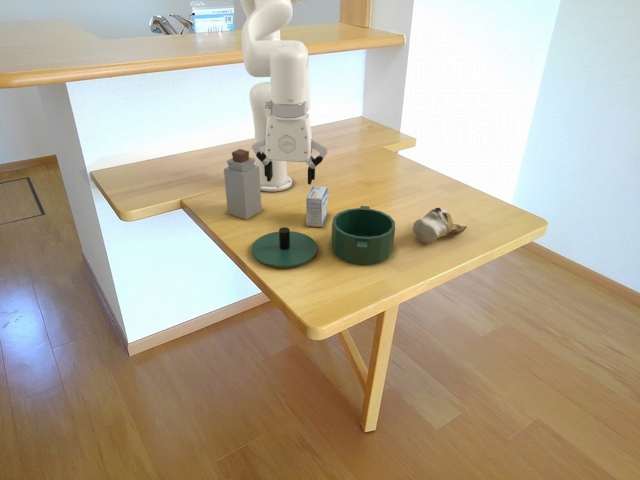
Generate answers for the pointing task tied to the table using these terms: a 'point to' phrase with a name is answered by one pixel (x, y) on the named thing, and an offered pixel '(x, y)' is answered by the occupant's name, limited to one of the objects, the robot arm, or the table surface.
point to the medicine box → (316, 206)
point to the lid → (284, 249)
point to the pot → (363, 236)
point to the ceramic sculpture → (436, 226)
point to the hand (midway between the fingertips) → (289, 180)
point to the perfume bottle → (242, 185)
